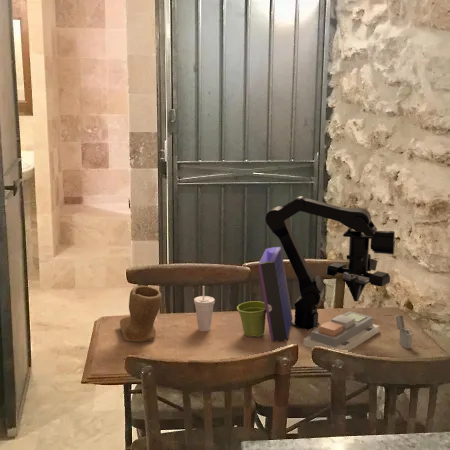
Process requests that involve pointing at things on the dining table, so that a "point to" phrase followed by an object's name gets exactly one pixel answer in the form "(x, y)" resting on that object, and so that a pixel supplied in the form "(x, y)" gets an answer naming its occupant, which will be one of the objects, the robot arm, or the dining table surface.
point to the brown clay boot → (141, 314)
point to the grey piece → (344, 335)
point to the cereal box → (275, 293)
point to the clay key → (331, 328)
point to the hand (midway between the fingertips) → (356, 301)
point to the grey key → (344, 321)
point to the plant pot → (253, 317)
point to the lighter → (403, 332)
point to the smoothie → (204, 311)
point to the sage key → (356, 317)
